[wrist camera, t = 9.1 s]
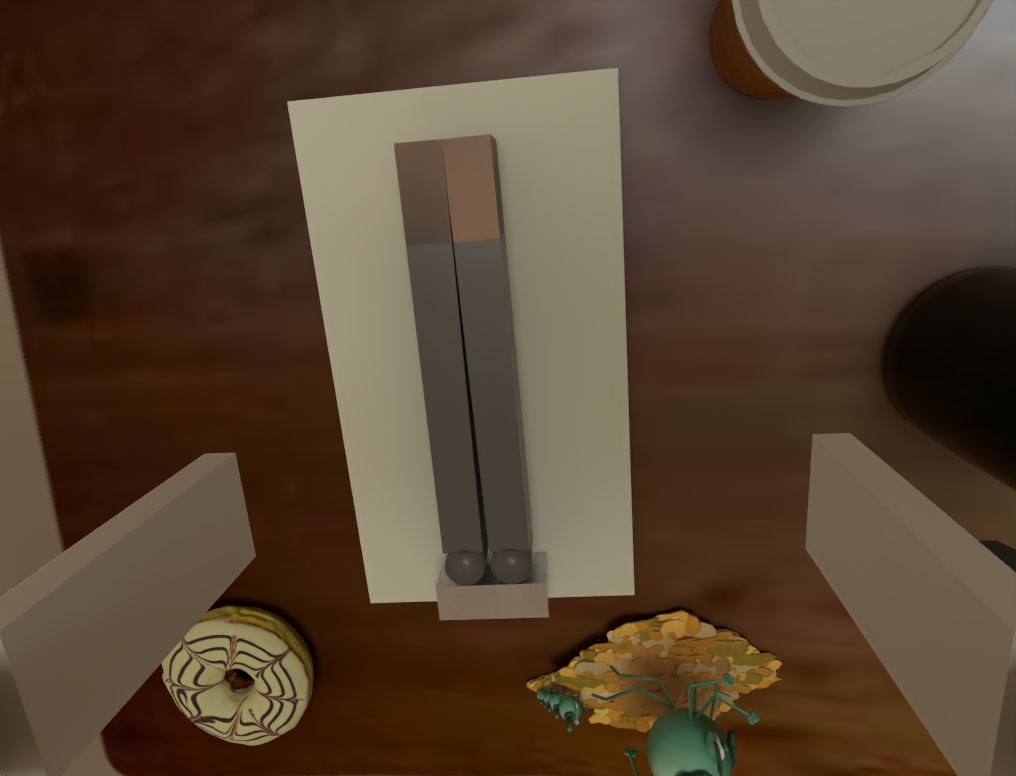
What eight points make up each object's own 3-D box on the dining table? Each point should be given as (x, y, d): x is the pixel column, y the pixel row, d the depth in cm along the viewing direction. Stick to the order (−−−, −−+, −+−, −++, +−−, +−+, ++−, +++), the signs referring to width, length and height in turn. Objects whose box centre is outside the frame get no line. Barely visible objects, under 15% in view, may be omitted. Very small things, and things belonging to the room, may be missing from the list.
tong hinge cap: (546, 551, 43) (546, 583, 39) (549, 583, 43) (548, 617, 40) (445, 555, 43) (435, 586, 40) (448, 586, 44) (439, 620, 40)
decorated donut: (184, 702, 50) (155, 742, 46) (183, 583, 46) (151, 616, 43) (317, 725, 49) (298, 767, 46) (325, 607, 46) (305, 642, 43)
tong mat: (616, 70, 35) (617, 67, 34) (633, 587, 44) (634, 594, 43) (292, 103, 36) (287, 101, 36) (373, 596, 45) (370, 603, 45)
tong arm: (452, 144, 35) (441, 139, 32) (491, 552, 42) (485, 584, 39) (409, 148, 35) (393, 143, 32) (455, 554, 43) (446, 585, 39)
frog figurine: (523, 596, 45) (543, 779, 31) (778, 591, 46) (913, 768, 31) (521, 710, 47) (539, 927, 33) (762, 704, 48) (880, 913, 34)
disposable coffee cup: (785, -120, 32) (915, -295, 20) (904, 30, 33) (1088, -55, 22) (640, 37, 34) (683, -41, 23) (757, 169, 36) (854, 159, 24)
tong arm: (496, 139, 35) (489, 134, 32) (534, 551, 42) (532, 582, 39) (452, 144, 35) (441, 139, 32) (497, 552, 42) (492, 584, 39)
